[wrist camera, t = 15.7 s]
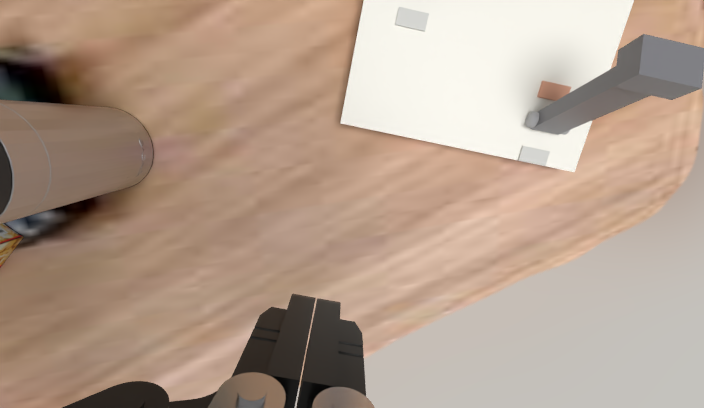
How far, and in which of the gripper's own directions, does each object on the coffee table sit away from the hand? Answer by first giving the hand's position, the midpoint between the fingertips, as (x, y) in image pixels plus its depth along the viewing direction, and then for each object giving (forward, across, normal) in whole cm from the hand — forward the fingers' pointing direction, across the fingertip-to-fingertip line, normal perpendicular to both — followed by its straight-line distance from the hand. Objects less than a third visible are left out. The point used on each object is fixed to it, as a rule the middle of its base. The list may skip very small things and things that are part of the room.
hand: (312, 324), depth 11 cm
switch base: (+31, +12, +15) cm, 36 cm away
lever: (+28, +20, +10) cm, 36 cm away
